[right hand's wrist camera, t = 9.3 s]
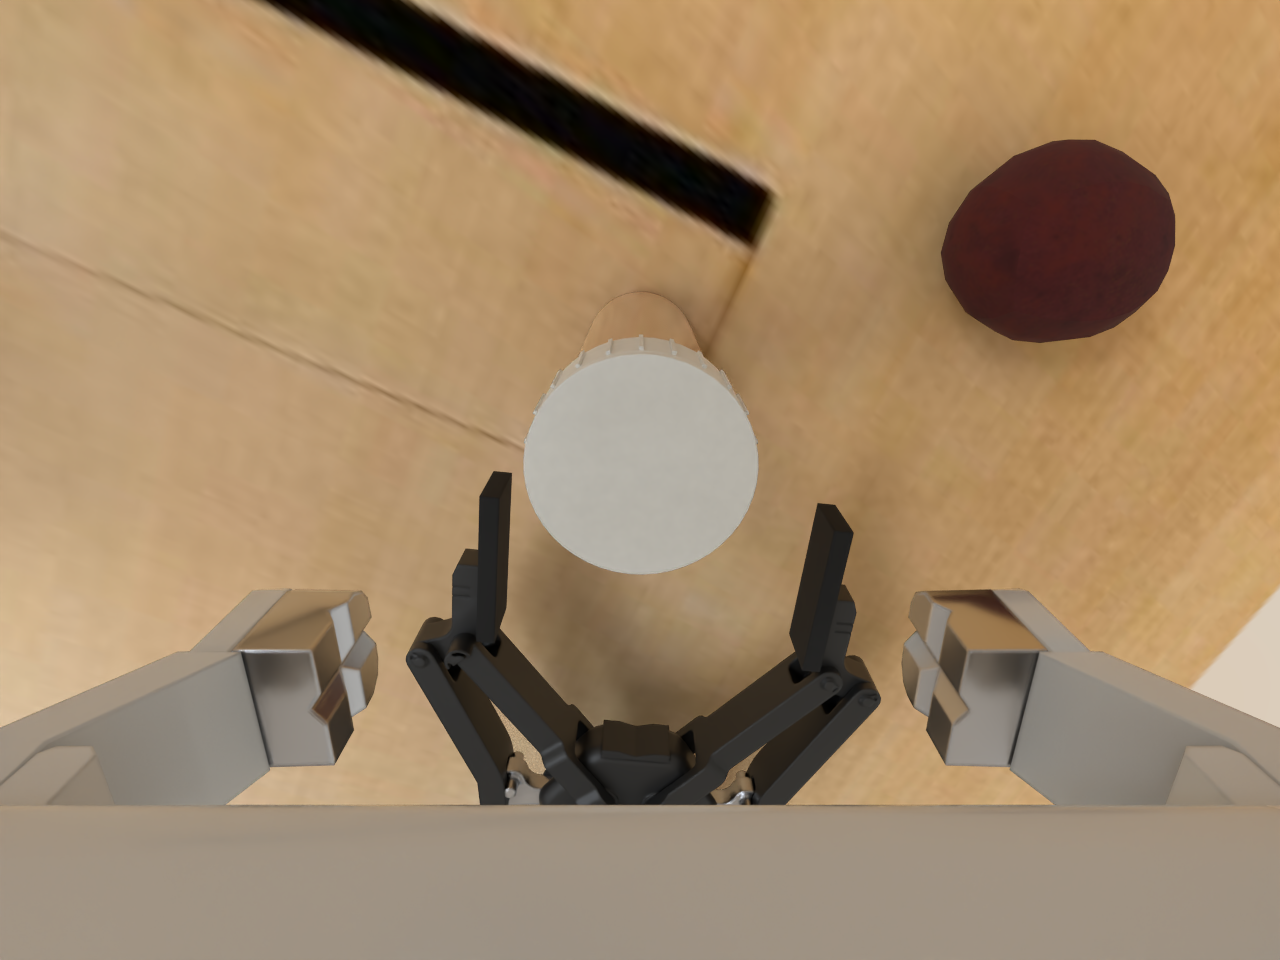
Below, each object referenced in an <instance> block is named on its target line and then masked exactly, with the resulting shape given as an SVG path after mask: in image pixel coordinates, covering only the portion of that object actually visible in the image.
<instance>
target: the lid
mask: <svg viewBox="0 0 1280 960" xmlns="http://www.w3.org/2000/svg"><path fill="white" fill-rule="evenodd" d="M533 414H535V417H534V420H533V422H532V424H531V427H530V429H529V432H528V434H527V436H526V438H525V440H524V443H525V450H524V478H525V484H526V489H527V492H528V496H529V499H530V502H531V504H532V506H533V508H534V511H535V513H536V515H537V516H538V518H539V519H540V521H541V523H542V524H543V526H544V527H545V528H546V529H547V531H548V532H549V533H550V534H551V536H552V537H553V538H554V539H555V540H556V541H558V542H559V543H560V544H561V545H562V546H563V547H564V548H565V549H567V550H568V551H570V552H571V553H572V554H574V555H575V556H577V557H579V558H580V559H582V560H584V561H586V562H588V563H590V564H593V565H595V566H597V567H600V568H603V569H607V570H610V571H614V572H620V573H626V574H656V573H662V572H667V571H672V570H675V569H678V568H682V567H685V566H687V565H689V564H692V563H694V562H696V561H698V560H700V559H701V558H703V557H705V556H706V555H708V554H710V553H711V552H712V551H714V550H715V549H716V548H718V547H719V546H720V545H721V544H722V543H723V542H724V541H725V540H726V539H727V538H728V537H729V536H730V535H731V534H732V533H733V532H734V531H735V529H736V528H737V527H738V525H739V524H740V523H741V521H742V519H743V518H744V516H745V514H746V512H747V511H748V508H749V506H750V504H751V501H752V499H753V496H754V492H755V488H756V484H757V477H758V450H757V444H758V440H757V438H756V436H755V434H754V432H753V429H752V426H751V424H750V422H749V420H748V418H747V416H746V415H748V414H749V412H748V410H747V408H746V406H745V404H744V402H743V400H742V399H741V397H740V395H739V394H735V392H734V390H733V389H732V386H731V384H730V382H729V380H728V378H727V376H726V374H725V372H724V371H723V370H720V371H719V370H718V369H717V368H716V367H715V366H714V365H713V364H712V363H710V362H709V361H708V360H707V359H706V358H704V357H703V354H702V352H700V351H699V350H698V352H695V351H693V350H691V349H689V348H687V347H685V346H683V345H680V344H677V343H675V342H674V339H671V338H670V340H669V341H668V340H663V339H658V338H648V337H643V335H639V337H634V338H624V339H619V340H614V341H613V339H612V338H611V339H608V342H607V343H605V344H602V345H599V346H597V347H595V348H593V349H591V350H589V351H587V352H585V351H584V350H583V351H582V352H580V355H579V357H578V358H576V359H575V360H574V361H572V362H571V363H570V364H569V365H568V366H567V367H566V368H565V369H564V370H563V371H562V370H561V369H560V370H559V371H558V372H557V374H556V376H555V378H554V380H553V382H552V384H551V386H550V389H549V390H548V392H547V394H544V393H543V395H542V396H541V398H540V400H539V402H538V404H537V406H536V408H535V410H534V412H533Z"/></svg>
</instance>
